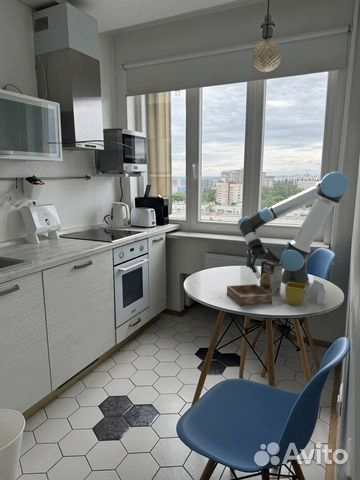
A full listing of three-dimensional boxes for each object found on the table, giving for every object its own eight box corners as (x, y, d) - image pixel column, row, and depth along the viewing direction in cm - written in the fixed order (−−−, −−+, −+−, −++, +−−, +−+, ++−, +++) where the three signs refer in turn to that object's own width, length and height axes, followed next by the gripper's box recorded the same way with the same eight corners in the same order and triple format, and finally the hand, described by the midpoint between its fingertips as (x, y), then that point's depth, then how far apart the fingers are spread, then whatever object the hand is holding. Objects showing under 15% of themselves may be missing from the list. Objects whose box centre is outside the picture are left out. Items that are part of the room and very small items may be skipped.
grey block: (317, 304, 154) (319, 284, 152) (309, 299, 161) (311, 279, 159) (324, 304, 155) (326, 283, 153) (315, 298, 161) (317, 279, 160)
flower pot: (286, 298, 161) (288, 281, 159) (305, 302, 157) (307, 284, 155) (283, 304, 153) (285, 286, 151) (303, 308, 149) (305, 289, 147)
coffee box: (258, 290, 171) (260, 261, 168) (267, 289, 174) (270, 259, 171) (271, 296, 164) (273, 265, 161) (280, 294, 167) (283, 263, 164)
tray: (255, 292, 169) (256, 283, 168) (271, 303, 154) (272, 294, 153) (226, 294, 165) (227, 285, 164) (240, 306, 150) (240, 297, 149)
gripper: (268, 244, 186) (284, 277, 175) (231, 247, 176) (246, 282, 165) (275, 237, 180) (292, 270, 169) (237, 239, 170) (253, 275, 159)
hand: (269, 276), depth 167 cm, fingers open, 13 cm apart
